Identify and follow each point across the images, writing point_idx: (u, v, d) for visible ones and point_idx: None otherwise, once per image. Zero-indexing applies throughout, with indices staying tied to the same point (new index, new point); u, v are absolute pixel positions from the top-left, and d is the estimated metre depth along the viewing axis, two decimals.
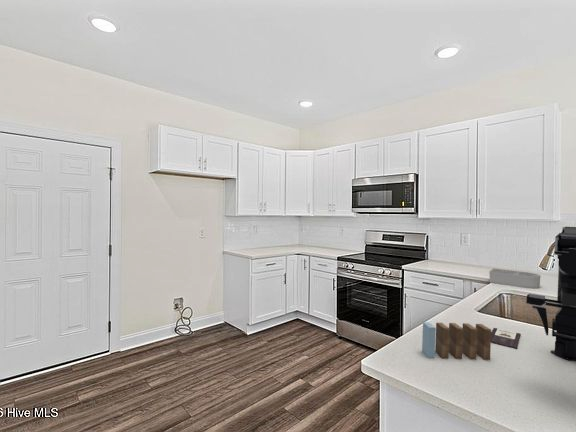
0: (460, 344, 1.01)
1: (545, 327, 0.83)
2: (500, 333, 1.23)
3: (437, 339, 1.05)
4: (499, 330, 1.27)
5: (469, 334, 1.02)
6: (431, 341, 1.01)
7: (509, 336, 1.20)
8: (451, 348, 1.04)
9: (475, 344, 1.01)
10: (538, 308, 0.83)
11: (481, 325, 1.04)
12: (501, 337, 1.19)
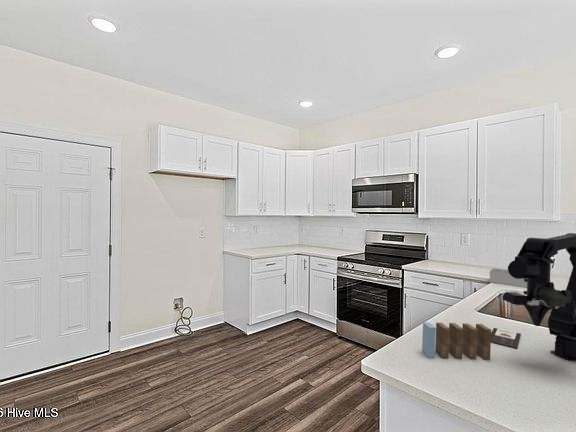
0: (460, 344, 1.01)
1: (537, 320, 0.99)
2: (500, 333, 1.23)
3: (437, 339, 1.05)
4: (499, 330, 1.27)
5: (469, 334, 1.02)
6: (431, 341, 1.01)
7: (509, 336, 1.20)
8: (451, 348, 1.04)
9: (475, 344, 1.01)
10: (536, 307, 0.97)
11: (481, 325, 1.04)
12: (501, 337, 1.19)
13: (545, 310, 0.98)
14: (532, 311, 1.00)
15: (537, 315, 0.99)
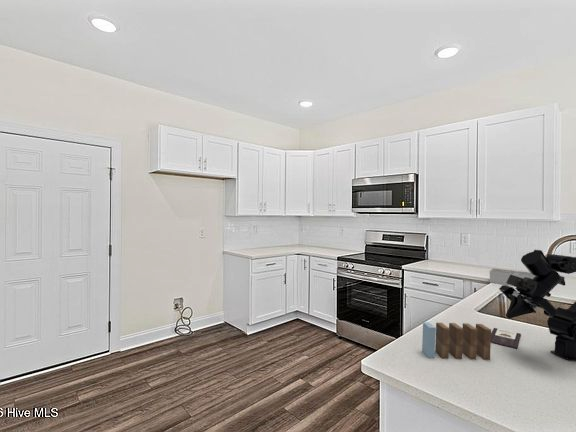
0: (460, 344, 1.01)
1: (508, 310, 1.04)
2: (500, 333, 1.23)
3: (437, 339, 1.05)
4: (499, 330, 1.26)
5: (469, 334, 1.02)
6: (431, 341, 1.01)
7: (509, 336, 1.20)
8: (451, 348, 1.04)
9: (475, 344, 1.01)
10: (510, 295, 1.05)
11: (481, 325, 1.04)
12: (501, 337, 1.19)
13: (518, 303, 1.02)
14: None
15: (511, 306, 1.04)
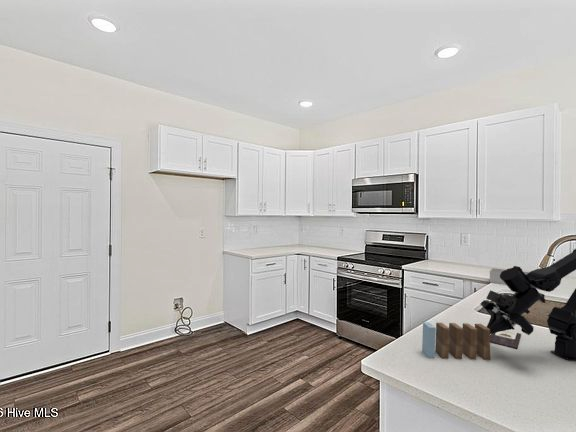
0: (460, 344, 1.01)
1: (487, 326, 1.04)
2: (500, 333, 1.23)
3: (437, 339, 1.05)
4: None
5: (469, 334, 1.02)
6: (431, 341, 1.01)
7: (509, 336, 1.20)
8: (451, 348, 1.04)
9: (475, 344, 1.01)
10: (490, 311, 1.06)
11: (480, 325, 1.04)
12: (501, 337, 1.19)
13: (497, 320, 1.02)
14: None
15: (490, 322, 1.04)
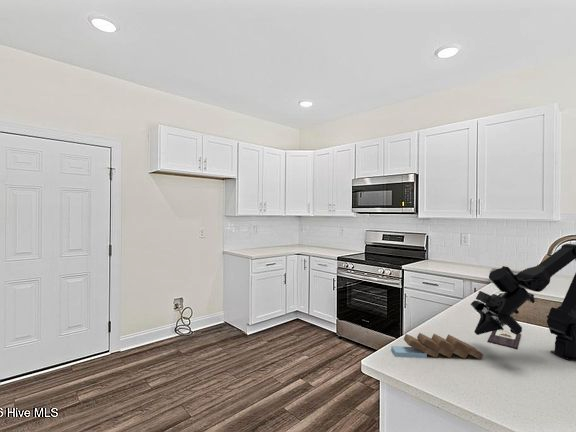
0: (438, 347, 1.01)
1: (477, 326, 1.04)
2: (500, 333, 1.23)
3: None
4: (499, 330, 1.26)
5: None
6: (409, 356, 1.02)
7: (509, 336, 1.20)
8: None
9: (453, 347, 1.01)
10: (480, 312, 1.06)
11: (449, 338, 1.05)
12: (501, 337, 1.19)
13: (486, 320, 1.02)
14: None
15: (479, 322, 1.04)
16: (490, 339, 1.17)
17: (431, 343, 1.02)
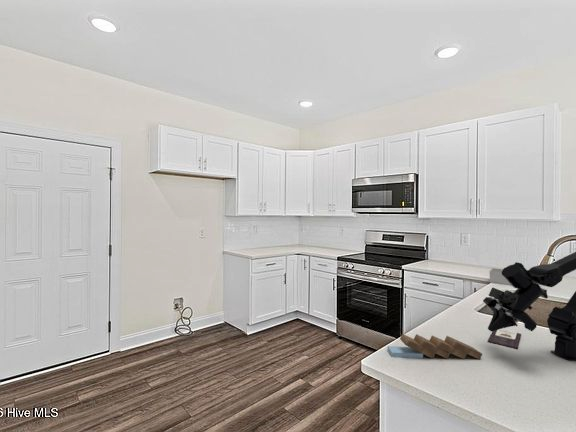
0: (436, 349, 1.01)
1: (490, 323, 1.04)
2: (500, 333, 1.23)
3: None
4: (499, 330, 1.26)
5: None
6: (406, 356, 1.01)
7: (509, 336, 1.20)
8: None
9: (453, 348, 1.01)
10: (493, 308, 1.06)
11: (448, 340, 1.04)
12: (501, 337, 1.19)
13: (500, 316, 1.02)
14: None
15: (493, 318, 1.04)
16: (490, 339, 1.17)
17: (429, 345, 1.01)
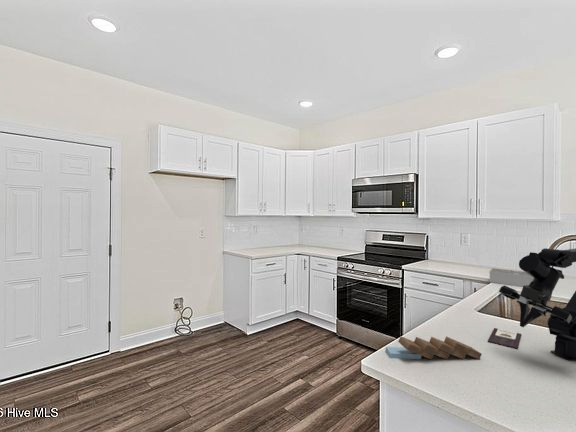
0: (437, 351, 0.99)
1: (521, 319, 1.01)
2: (500, 333, 1.23)
3: None
4: (499, 330, 1.26)
5: None
6: (404, 357, 1.01)
7: (509, 336, 1.20)
8: None
9: (453, 349, 1.00)
10: (520, 303, 1.01)
11: (447, 341, 1.04)
12: (502, 337, 1.19)
13: (532, 313, 0.99)
14: None
15: (522, 314, 1.01)
16: (490, 339, 1.17)
17: (431, 348, 0.99)
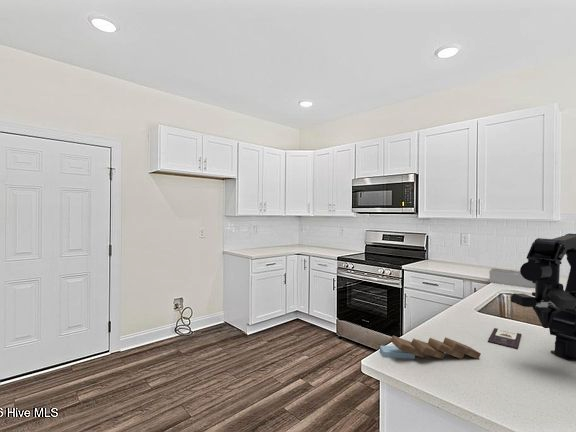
0: (434, 352, 0.99)
1: (545, 322, 0.97)
2: (501, 333, 1.23)
3: None
4: (500, 330, 1.26)
5: None
6: (397, 356, 1.01)
7: (509, 336, 1.20)
8: None
9: (452, 350, 1.00)
10: (545, 309, 0.95)
11: (447, 341, 1.04)
12: (502, 337, 1.19)
13: (554, 312, 0.96)
14: (541, 313, 0.98)
15: (546, 317, 0.97)
16: (490, 339, 1.17)
17: (429, 350, 0.98)
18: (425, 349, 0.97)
